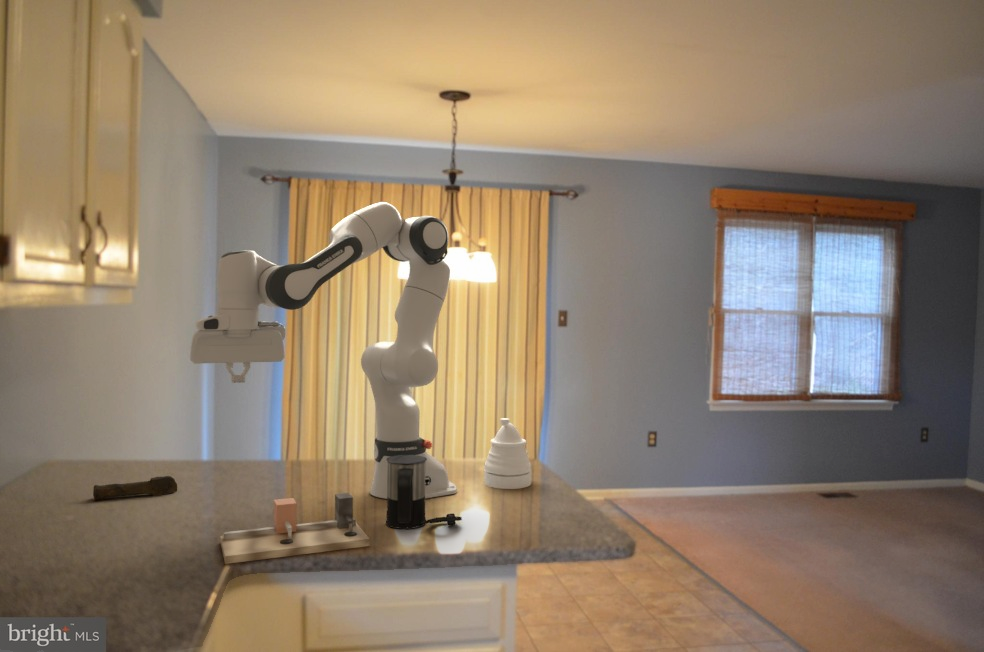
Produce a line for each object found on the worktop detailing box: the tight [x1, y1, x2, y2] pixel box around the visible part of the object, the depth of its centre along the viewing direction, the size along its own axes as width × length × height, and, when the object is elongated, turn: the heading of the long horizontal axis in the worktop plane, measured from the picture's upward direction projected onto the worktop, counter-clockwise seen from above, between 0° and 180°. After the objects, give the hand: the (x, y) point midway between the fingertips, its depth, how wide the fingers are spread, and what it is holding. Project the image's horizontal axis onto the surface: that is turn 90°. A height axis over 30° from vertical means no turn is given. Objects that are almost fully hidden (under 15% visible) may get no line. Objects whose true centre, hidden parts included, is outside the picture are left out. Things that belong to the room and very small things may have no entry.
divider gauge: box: [219, 492, 370, 565], centre depth 155 cm, size 28×13×8 cm, turn 114°
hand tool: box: [92, 475, 178, 501], centre depth 189 cm, size 19×4×5 cm, turn 112°
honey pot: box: [483, 417, 532, 490], centre depth 207 cm, size 13×13×18 cm
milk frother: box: [385, 455, 463, 529], centre depth 169 cm, size 14×16×15 cm
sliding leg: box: [273, 497, 298, 539], centre depth 156 cm, size 4×9×6 cm, turn 24°
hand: (238, 382), depth 171 cm, fingers closed
